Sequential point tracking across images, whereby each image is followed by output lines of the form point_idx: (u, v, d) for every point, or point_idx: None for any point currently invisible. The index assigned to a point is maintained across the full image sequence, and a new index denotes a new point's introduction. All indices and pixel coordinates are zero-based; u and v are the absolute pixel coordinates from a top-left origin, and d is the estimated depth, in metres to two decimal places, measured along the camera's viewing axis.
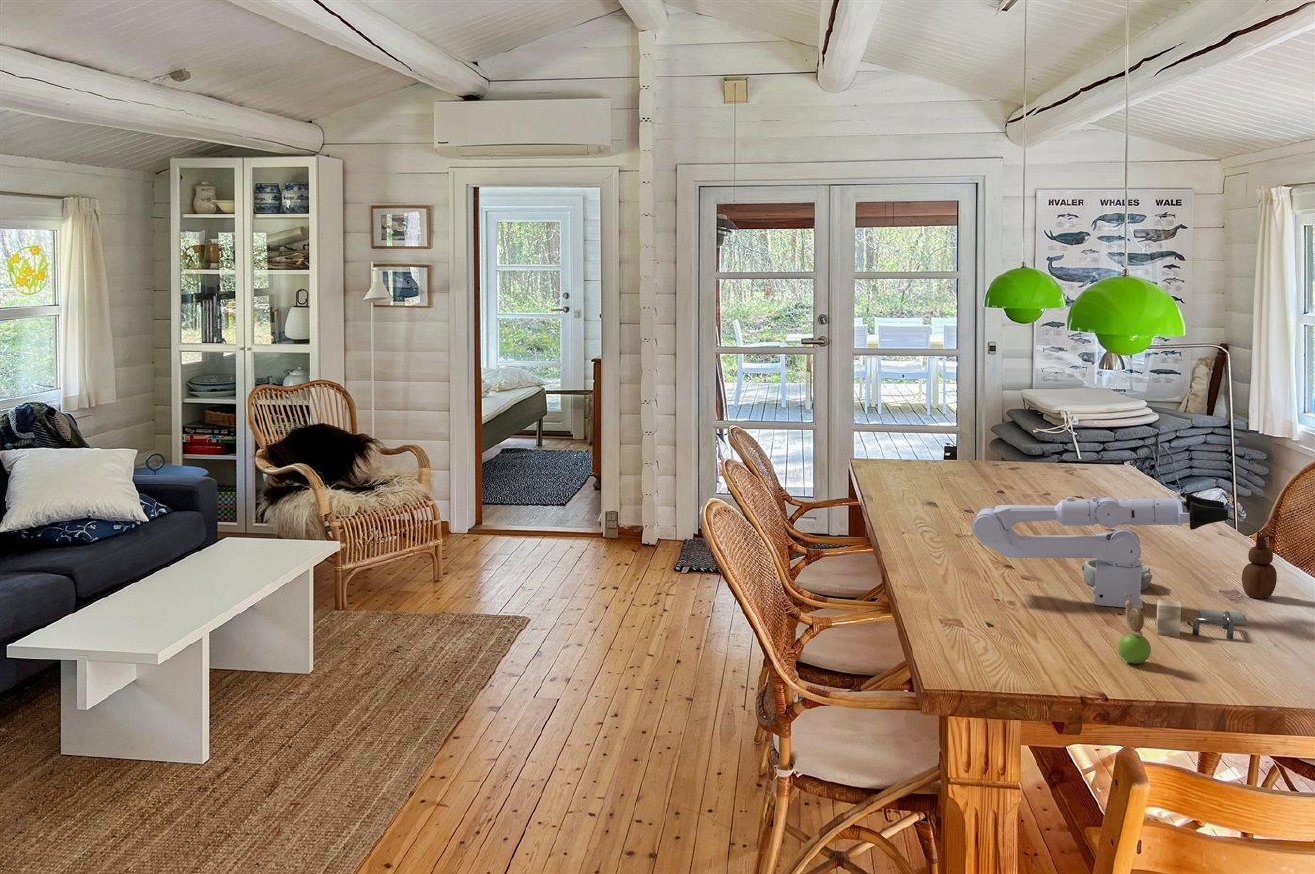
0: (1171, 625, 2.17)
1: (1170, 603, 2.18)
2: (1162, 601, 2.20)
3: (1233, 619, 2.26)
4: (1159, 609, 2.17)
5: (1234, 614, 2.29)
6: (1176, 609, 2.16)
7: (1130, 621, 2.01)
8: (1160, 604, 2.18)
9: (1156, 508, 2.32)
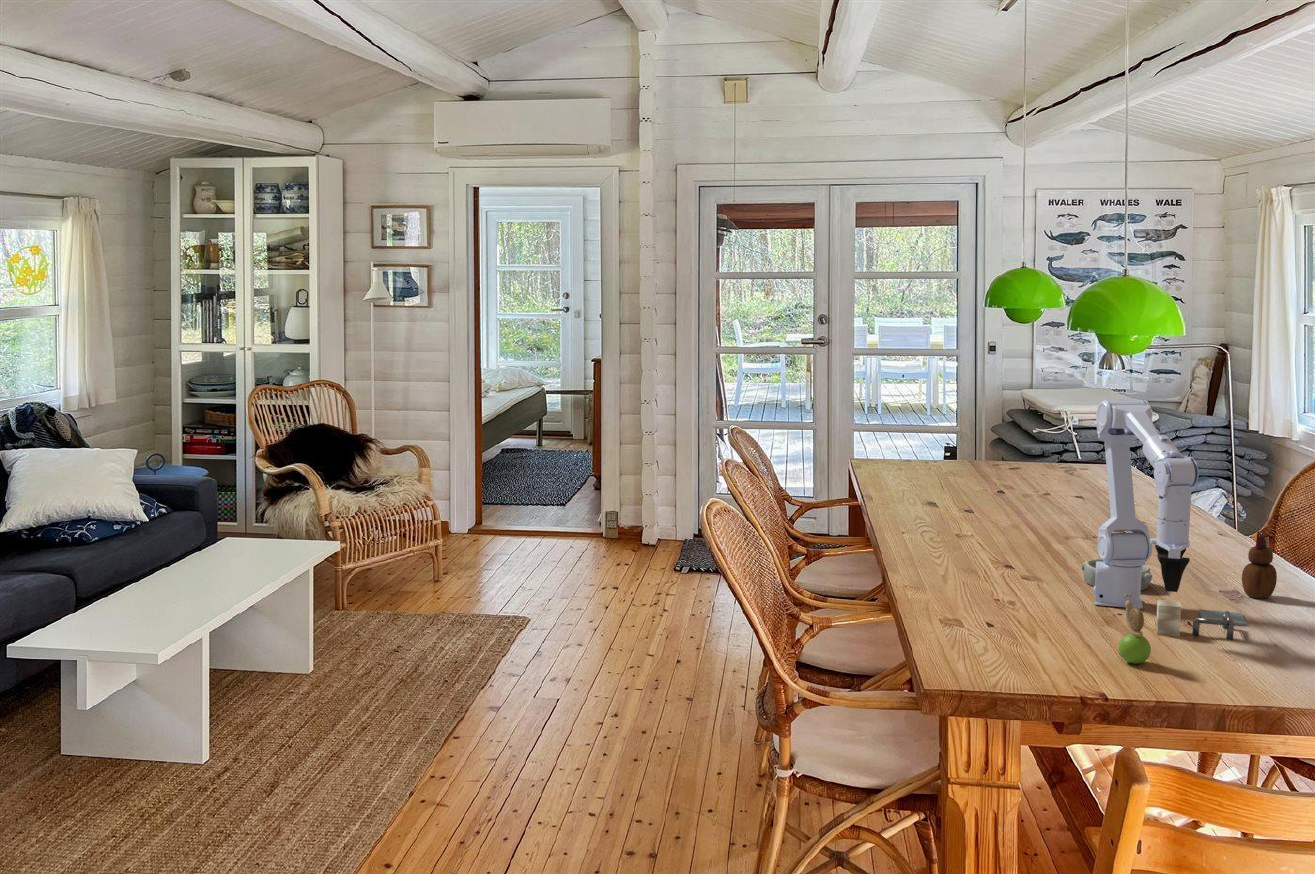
0: (1171, 625, 2.17)
1: (1170, 603, 2.18)
2: (1162, 601, 2.20)
3: (1233, 619, 2.26)
4: (1159, 609, 2.17)
5: (1234, 614, 2.29)
6: (1176, 609, 2.16)
7: (1130, 621, 2.01)
8: (1160, 604, 2.18)
9: None
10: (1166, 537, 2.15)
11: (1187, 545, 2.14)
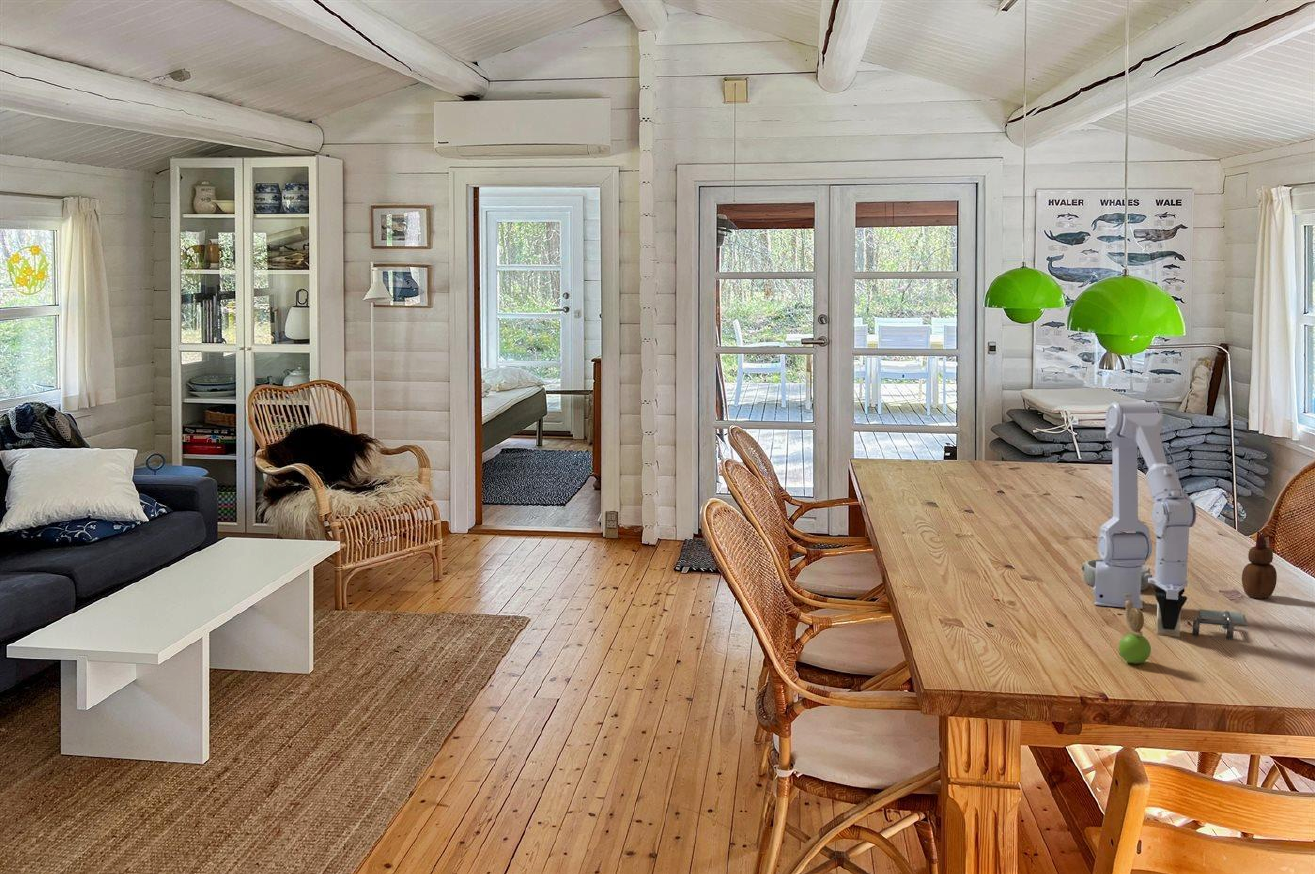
0: None
1: None
2: None
3: (1233, 619, 2.26)
4: (1159, 609, 2.17)
5: (1234, 614, 2.29)
6: None
7: (1130, 621, 2.01)
8: None
9: None
10: (1164, 578, 2.16)
11: (1185, 585, 2.15)
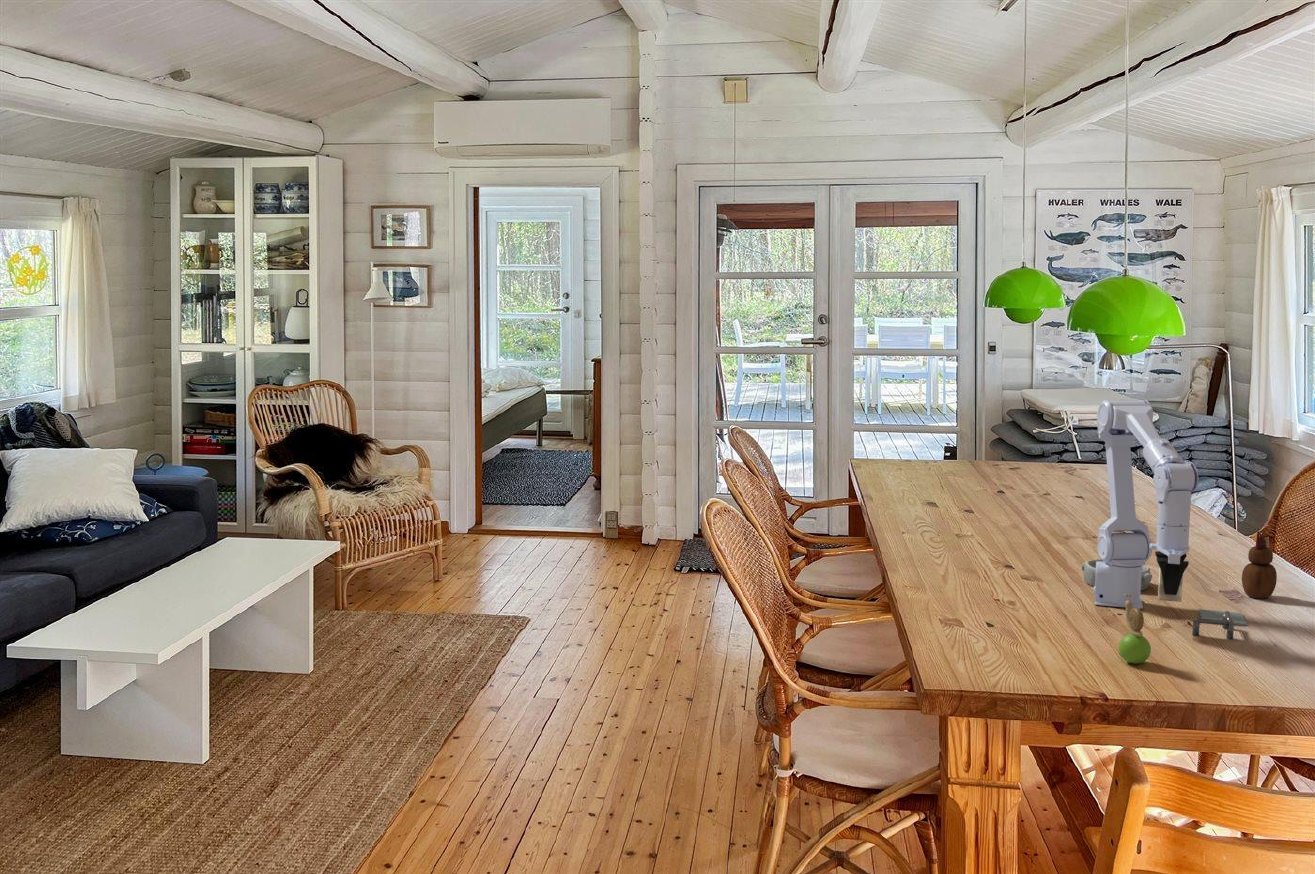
0: None
1: None
2: None
3: (1233, 619, 2.26)
4: (1161, 574, 2.16)
5: (1234, 614, 2.29)
6: None
7: (1130, 621, 2.01)
8: None
9: None
10: (1166, 543, 2.15)
11: (1187, 550, 2.14)
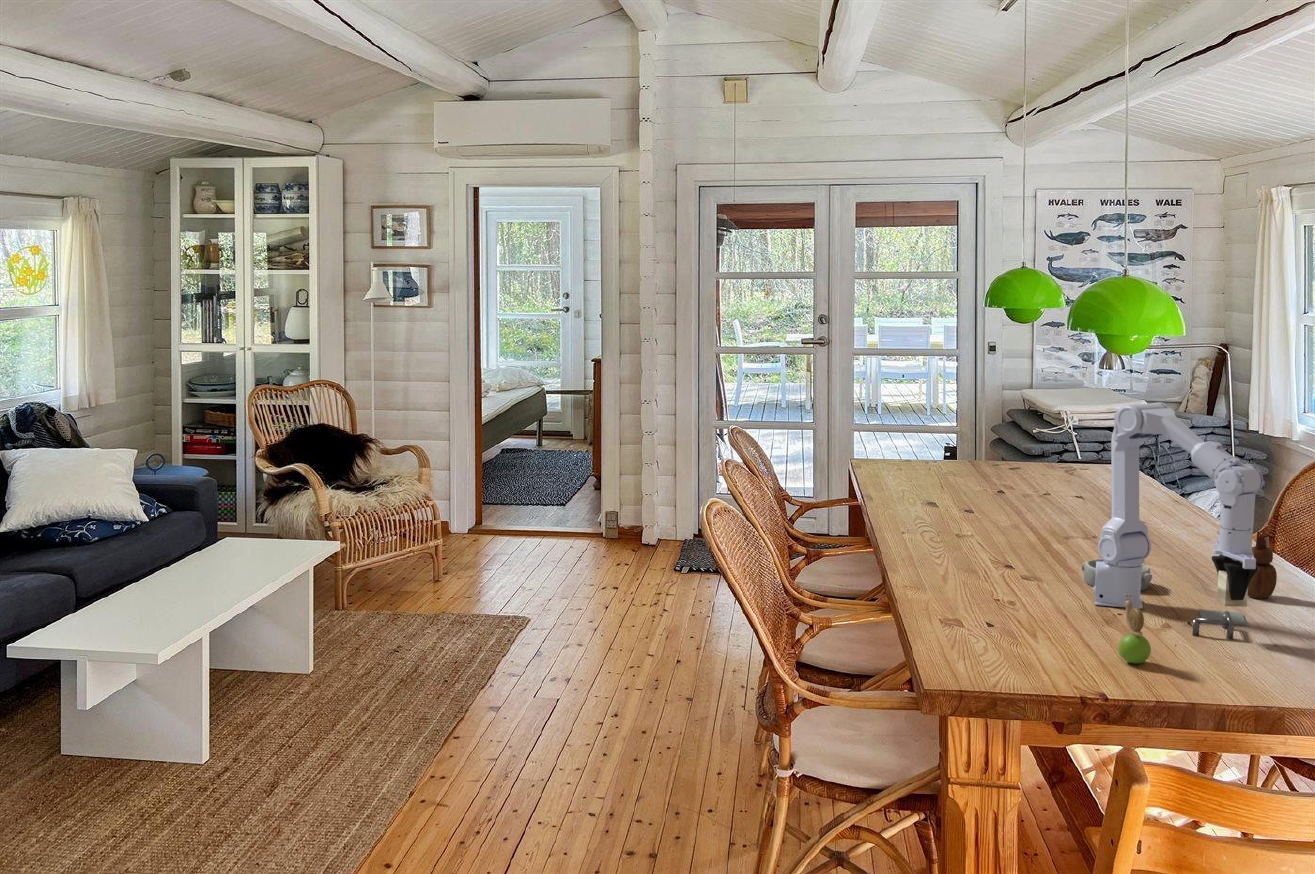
0: None
1: None
2: (1225, 571, 2.15)
3: (1233, 619, 2.26)
4: (1227, 580, 2.12)
5: (1234, 614, 2.29)
6: None
7: (1130, 621, 2.01)
8: (1226, 574, 2.13)
9: None
10: (1233, 547, 2.10)
11: (1252, 554, 2.11)
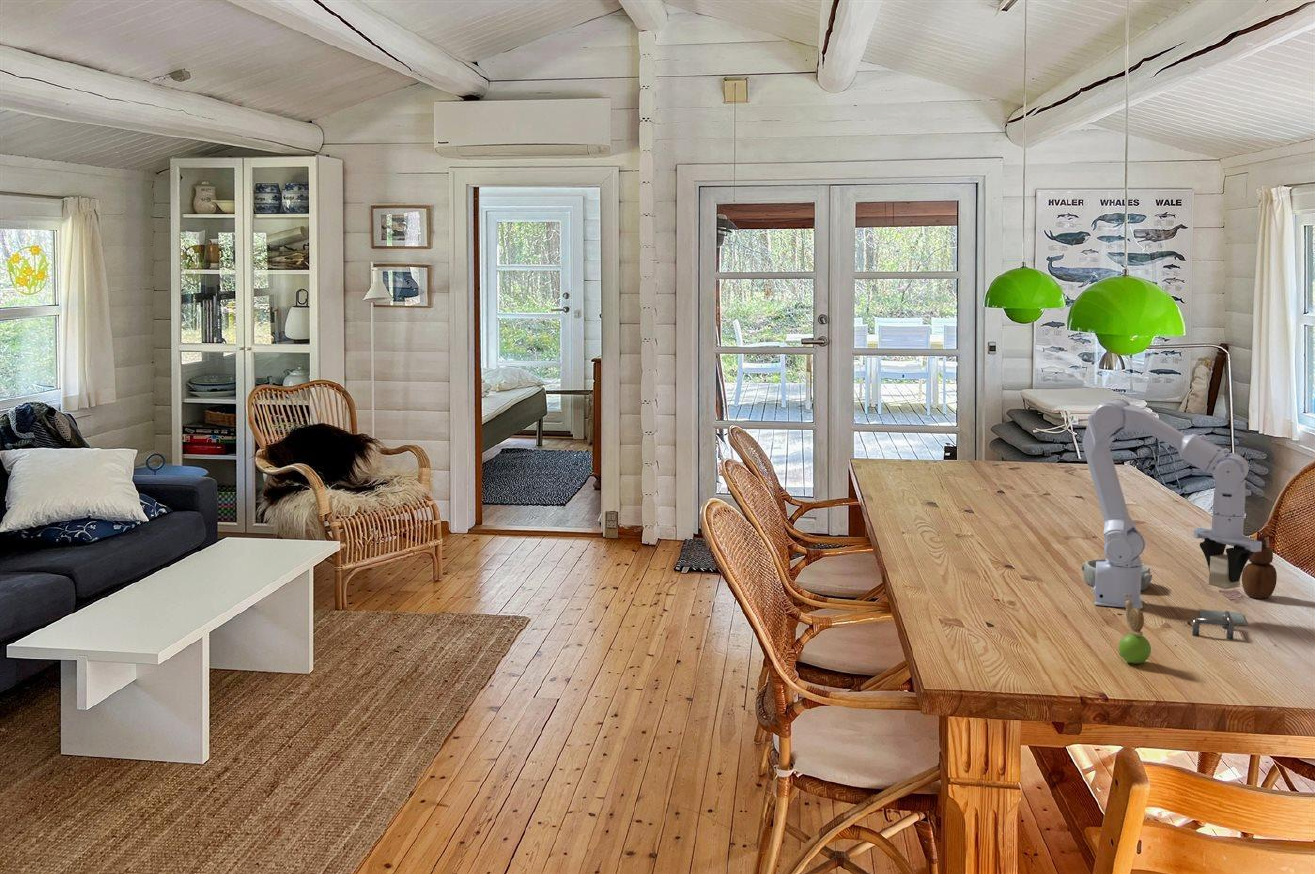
0: None
1: (1226, 557, 2.26)
2: (1217, 556, 2.27)
3: (1233, 619, 2.26)
4: (1227, 564, 2.24)
5: (1234, 614, 2.29)
6: None
7: (1130, 621, 2.01)
8: (1224, 559, 2.24)
9: None
10: (1234, 533, 2.23)
11: None
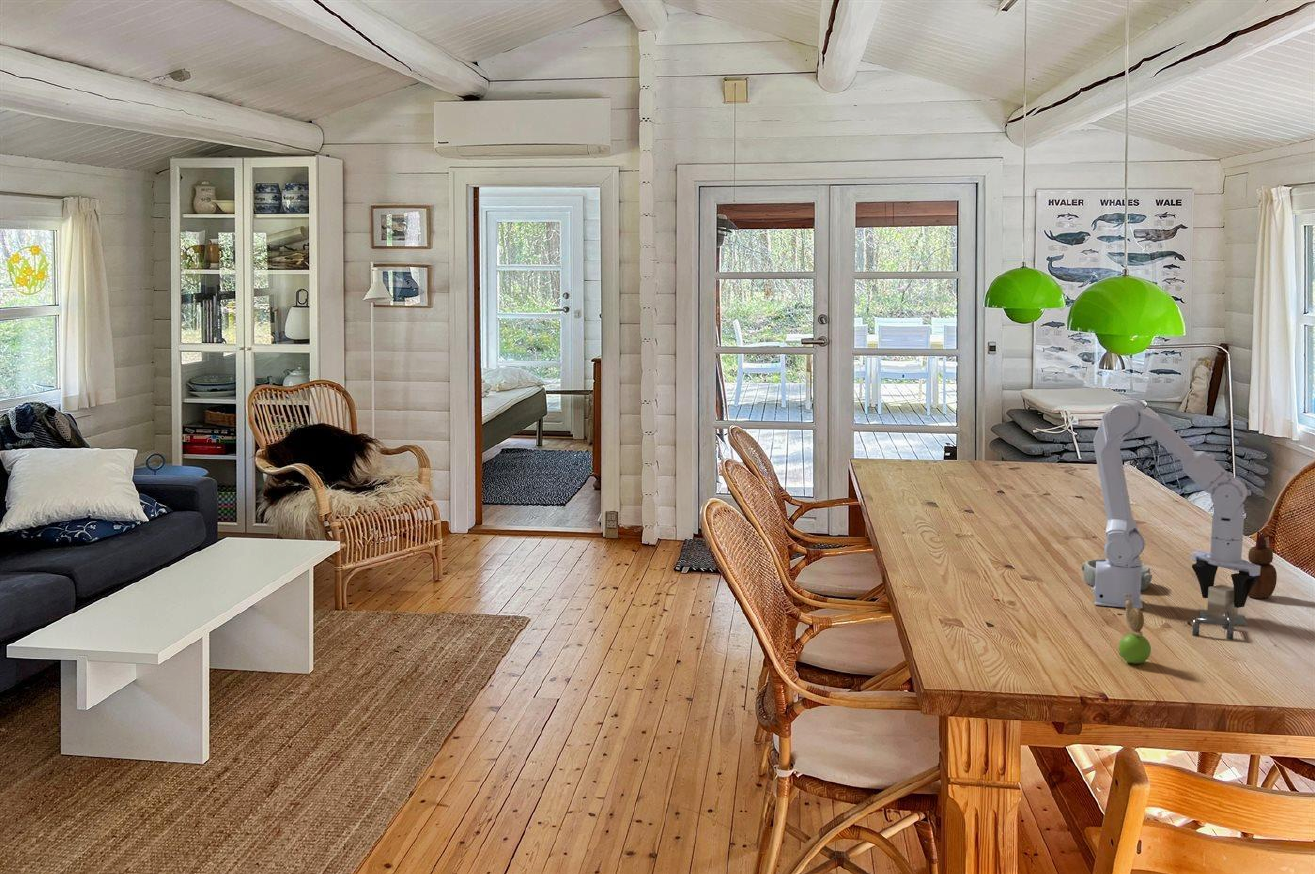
0: (1232, 608, 2.26)
1: (1224, 587, 2.27)
2: (1215, 587, 2.28)
3: (1233, 619, 2.26)
4: (1225, 595, 2.25)
5: None
6: None
7: (1130, 621, 2.01)
8: (1223, 590, 2.26)
9: None
10: (1232, 557, 2.24)
11: None
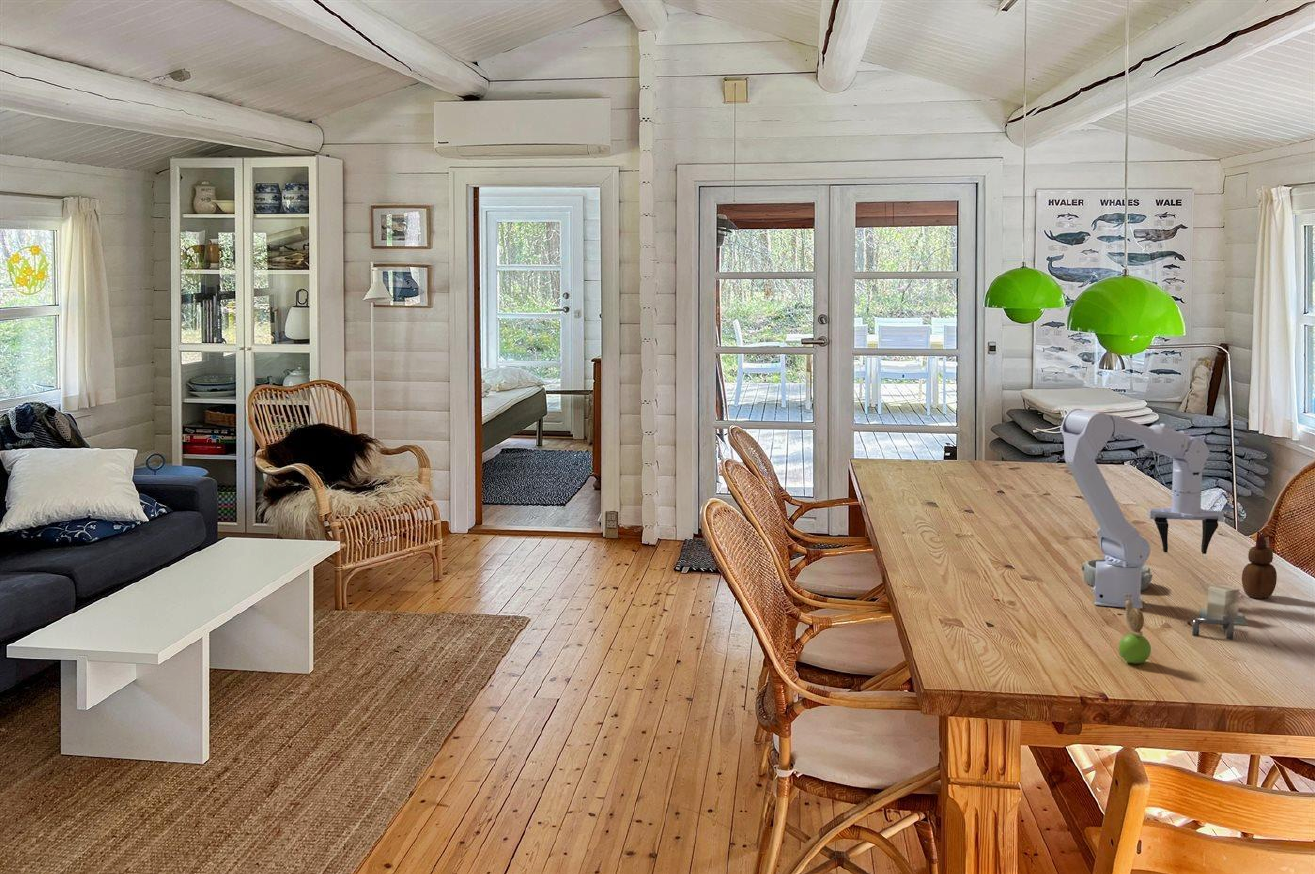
0: (1232, 608, 2.26)
1: (1224, 587, 2.27)
2: (1215, 587, 2.28)
3: (1233, 619, 2.26)
4: (1225, 595, 2.25)
5: None
6: (1236, 592, 2.26)
7: (1130, 621, 2.01)
8: (1223, 590, 2.26)
9: (1174, 493, 2.39)
10: (1200, 507, 2.38)
11: None
